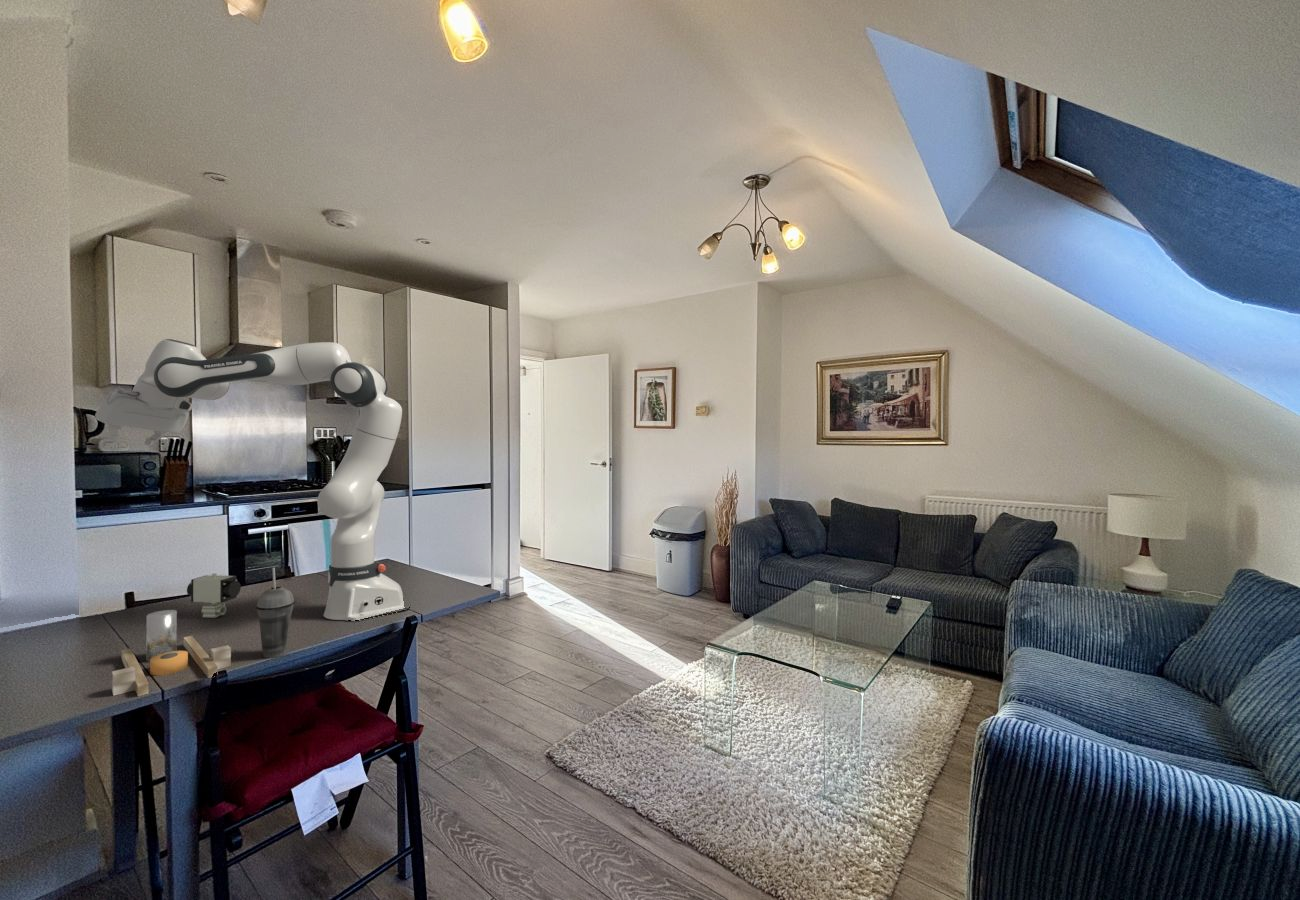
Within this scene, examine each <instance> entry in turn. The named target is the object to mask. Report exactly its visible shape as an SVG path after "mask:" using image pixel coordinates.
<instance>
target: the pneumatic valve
mask: <svg viewBox="0 0 1300 900" xmlns="http://www.w3.org/2000/svg"><path fill="white" fill-rule="evenodd" d="M241 585H242V584H241V583H240V582H239V581H238V579H237V575H222V574H221V575H217V573H211V575H210V574H209V575H208V574H206V575H202V576H199V577H195V578H192V579H191V580H190V582H189V584H188V585H187V587H186V592H187V593H186V594H187V595H188V596H189V597H190V601H191V602H192V603H204V604H205V605H203V606H202V607H201V608H202V609H201V614H202V618H204V619H216V618H218V617H220V616H224V615H225V614H226V612H227V607H226V602H228V601H231V600H234V599H237V596H238V595H239V594H240V591H241V589H242V588H241V587H242V586H241ZM208 603H210V604H208ZM206 604H207V605H206Z"/></svg>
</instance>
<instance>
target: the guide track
mask: <svg viewBox="0 0 1300 900" xmlns="http://www.w3.org/2000/svg"><path fill="white" fill-rule="evenodd" d="M183 647H184V648H185V651H187V652H188V654H189V655H190V656H191V658H192V659H193V660H194V661H195V663H196V664H197V666H199V668H200V670H202V672H203V674H204V675H205V676H206V677H207V678H208V679H210V678H213V677H212V676H213V674H214V673H216V672H217V673H218V670H220V669H224V668H229V667H231V666H232V665H231V664H232V659H231V657H232V652H231V651H232V648H231V647H230V645H228V644H227V645H222V646H218V647H214V648H210V655H209V654H208V653H207V652H206V651H205V649H204V648H203V647H202V646H201V644H200V643H199V642H197V640H196V638H194V636H193V635H189V636H184V637H183ZM121 661H122V664H123V666H124V668H122V669H117V670H113V671H111V692H112V695H113V696H118V695H122V694H125V693H130V692H133V691H134V692H135V693H136V695H137V697H141V696H145V695H148V694H149V684H150V683H149V681H148V679H147V678H146V676H145V674H144V671H143V670H142V667H141V666H140V664H139V662H138V660H137V658H136V656H135V653H134V652H133V650H132V648H126V649H121Z"/></svg>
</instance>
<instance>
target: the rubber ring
mask: <svg viewBox="0 0 1300 900" xmlns="http://www.w3.org/2000/svg"><path fill="white" fill-rule="evenodd" d="M188 663H189V652H188V651H187V650H177V651H172V652H167V653H163V654H159V655H156V656H154V657H152V658H151V659H150V662H149V674H150V675H151V676H159V677H160V676H167V675H172V674H175V673H179V672H181V671H183V670H185V669H187V668H188V666H189V664H188Z"/></svg>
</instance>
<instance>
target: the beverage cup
mask: <svg viewBox="0 0 1300 900" xmlns="http://www.w3.org/2000/svg"><path fill="white" fill-rule="evenodd" d="M271 568H272V569H271V571H272V572H271V573H272V587H270V588H268V589H266V590H265V591H263V592H262V593H261V594H260V595H259V597H258V599H257V603H256V606H255V609H256V612H257V616H258V619H259V620H258V621H259V629H260V640H261V641H260V642H261V651H262V655H263V658H265V659H273V658H279V657H282V656H284V655H286V654H287V653H288V647H289V642H290V633H291V632H290V631H291V623H292V614H293V609H294V604H295V599H294V595H293V593H292V592H291V590H289V589H288V588H286V587H284V586H277V585H276V584H277V583H276V568H275V567H271Z"/></svg>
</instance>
